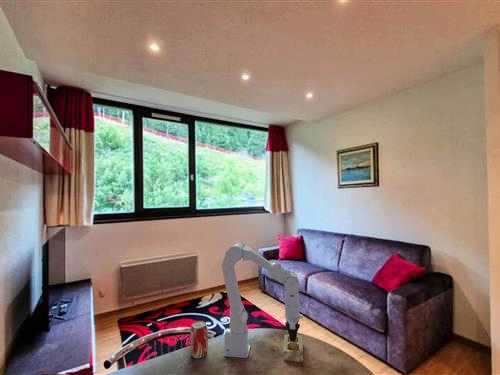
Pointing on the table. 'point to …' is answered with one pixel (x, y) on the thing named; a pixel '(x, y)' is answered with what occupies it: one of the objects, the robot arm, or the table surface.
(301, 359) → the hole block
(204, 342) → the soda can
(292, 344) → the peg
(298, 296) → the robot arm
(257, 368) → the table surface
